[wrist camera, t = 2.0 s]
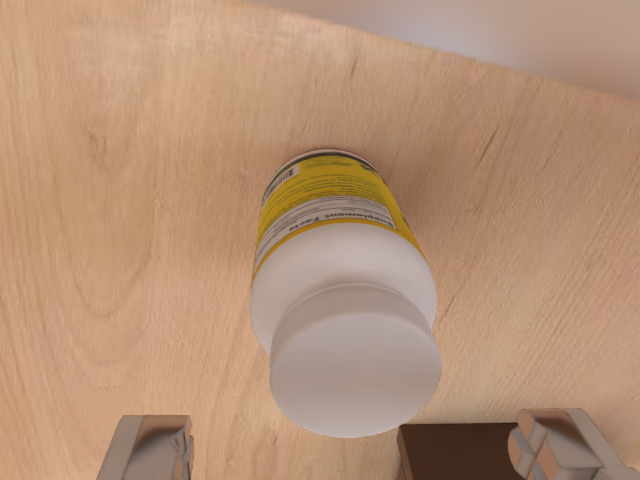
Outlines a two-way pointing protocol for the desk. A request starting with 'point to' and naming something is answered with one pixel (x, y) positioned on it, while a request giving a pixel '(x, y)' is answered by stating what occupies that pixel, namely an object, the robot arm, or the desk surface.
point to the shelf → (456, 452)
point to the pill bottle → (342, 299)
